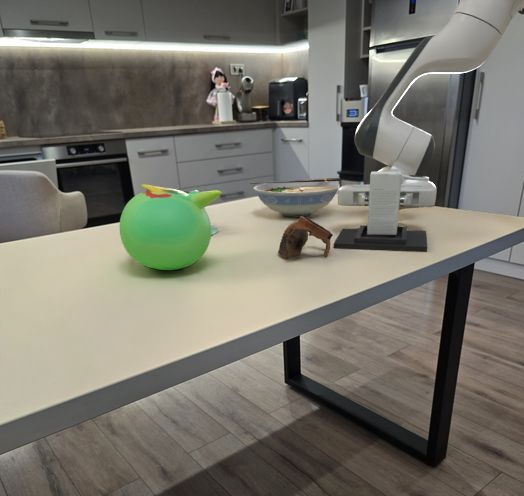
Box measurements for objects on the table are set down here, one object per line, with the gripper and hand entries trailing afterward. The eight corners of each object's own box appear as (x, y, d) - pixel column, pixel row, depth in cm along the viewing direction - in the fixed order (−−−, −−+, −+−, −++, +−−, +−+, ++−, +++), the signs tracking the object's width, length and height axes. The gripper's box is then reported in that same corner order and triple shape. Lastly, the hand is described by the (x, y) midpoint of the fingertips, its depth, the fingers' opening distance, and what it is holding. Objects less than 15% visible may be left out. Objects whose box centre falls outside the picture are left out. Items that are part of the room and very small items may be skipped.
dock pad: (425, 235, 104) (426, 226, 103) (426, 251, 92) (428, 241, 91) (342, 232, 109) (342, 223, 108) (333, 248, 97) (333, 238, 96)
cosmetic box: (396, 231, 101) (401, 170, 96) (396, 235, 97) (402, 173, 92) (366, 230, 102) (370, 171, 97) (366, 235, 99) (370, 173, 93)
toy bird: (118, 261, 93) (105, 182, 86) (201, 250, 99) (195, 174, 92) (136, 288, 78) (122, 194, 72) (233, 272, 84) (228, 185, 78)
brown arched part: (281, 250, 98) (301, 213, 96) (320, 274, 97) (341, 237, 94) (263, 249, 87) (285, 208, 85) (306, 276, 86) (330, 235, 83)
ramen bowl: (250, 224, 120) (248, 190, 116) (251, 208, 140) (250, 179, 137) (349, 221, 120) (351, 187, 116) (336, 205, 140) (337, 176, 137)
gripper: (341, 176, 109) (332, 185, 98) (436, 176, 104) (438, 185, 92) (340, 205, 112) (331, 216, 100) (432, 206, 107) (434, 218, 95)
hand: (384, 201), depth 96 cm, fingers closed on cosmetic box, 6 cm apart
